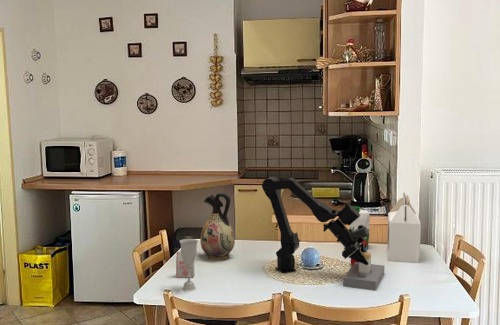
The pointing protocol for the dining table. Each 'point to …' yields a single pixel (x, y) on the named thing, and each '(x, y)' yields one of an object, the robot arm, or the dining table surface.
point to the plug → (363, 267)
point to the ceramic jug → (217, 230)
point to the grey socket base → (363, 277)
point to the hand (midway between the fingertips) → (368, 262)
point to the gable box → (403, 232)
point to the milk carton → (362, 221)
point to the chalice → (188, 259)
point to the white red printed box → (182, 267)
